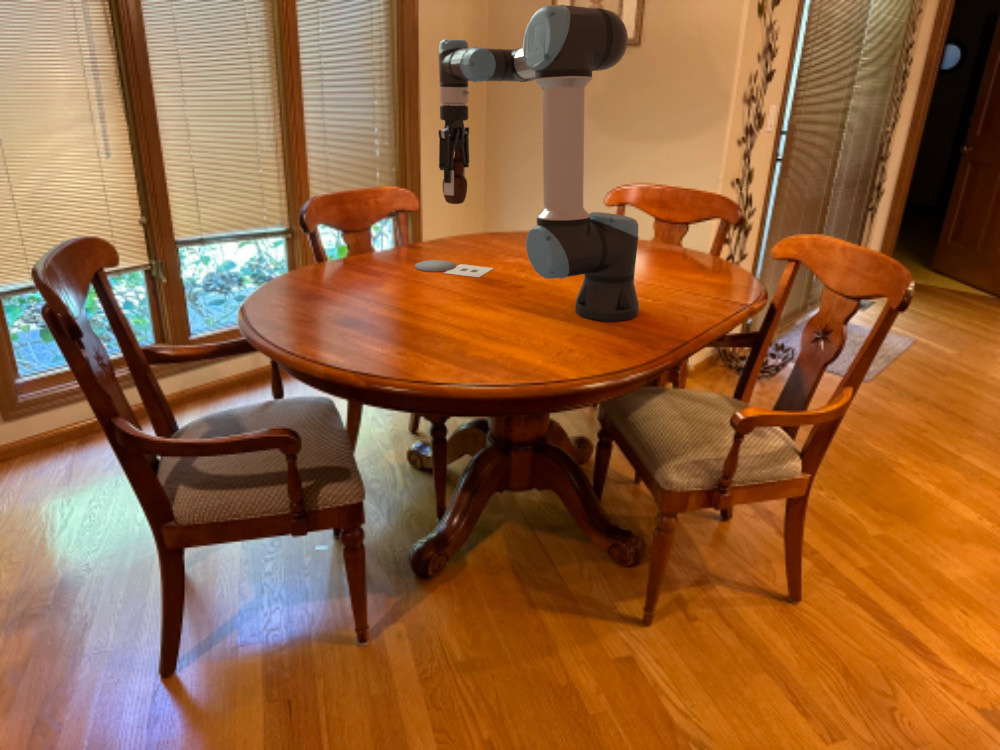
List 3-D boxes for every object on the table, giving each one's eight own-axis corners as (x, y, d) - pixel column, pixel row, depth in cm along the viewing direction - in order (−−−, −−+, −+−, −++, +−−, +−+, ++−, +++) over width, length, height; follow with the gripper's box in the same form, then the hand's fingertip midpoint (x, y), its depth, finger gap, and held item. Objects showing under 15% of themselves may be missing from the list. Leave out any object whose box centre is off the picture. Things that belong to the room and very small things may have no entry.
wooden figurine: (468, 201, 195) (468, 146, 189) (465, 205, 190) (465, 148, 184) (445, 200, 196) (444, 145, 189) (441, 204, 190) (440, 147, 184)
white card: (478, 277, 192) (478, 277, 192) (443, 273, 196) (443, 272, 196) (494, 268, 201) (494, 268, 201) (460, 264, 205) (460, 264, 205)
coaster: (444, 273, 195) (444, 272, 195) (407, 269, 199) (407, 267, 199) (462, 264, 205) (462, 262, 205) (427, 259, 209) (427, 258, 209)
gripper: (449, 106, 173) (450, 199, 182) (482, 103, 189) (481, 189, 198) (423, 105, 175) (426, 197, 185) (457, 102, 191) (458, 187, 201)
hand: (454, 193), depth 191 cm, fingers closed on wooden figurine, 6 cm apart
